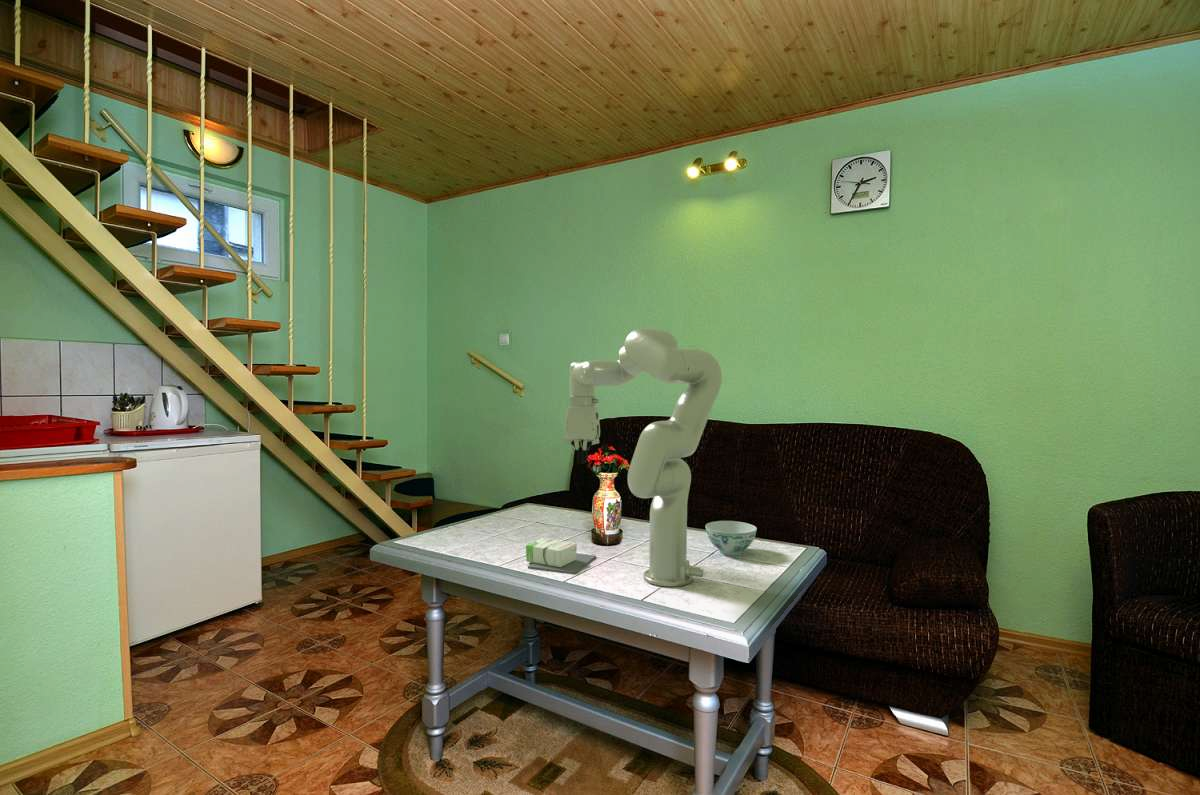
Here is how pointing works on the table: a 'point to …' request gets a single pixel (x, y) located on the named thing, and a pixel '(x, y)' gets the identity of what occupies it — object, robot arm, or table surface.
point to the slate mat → (568, 568)
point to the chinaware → (731, 536)
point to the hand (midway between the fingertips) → (582, 462)
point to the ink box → (551, 552)
